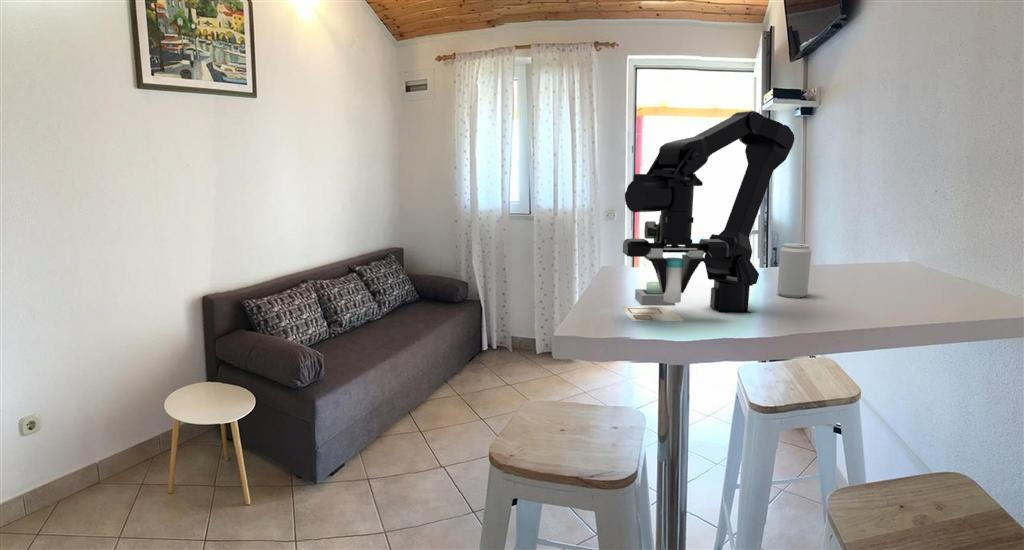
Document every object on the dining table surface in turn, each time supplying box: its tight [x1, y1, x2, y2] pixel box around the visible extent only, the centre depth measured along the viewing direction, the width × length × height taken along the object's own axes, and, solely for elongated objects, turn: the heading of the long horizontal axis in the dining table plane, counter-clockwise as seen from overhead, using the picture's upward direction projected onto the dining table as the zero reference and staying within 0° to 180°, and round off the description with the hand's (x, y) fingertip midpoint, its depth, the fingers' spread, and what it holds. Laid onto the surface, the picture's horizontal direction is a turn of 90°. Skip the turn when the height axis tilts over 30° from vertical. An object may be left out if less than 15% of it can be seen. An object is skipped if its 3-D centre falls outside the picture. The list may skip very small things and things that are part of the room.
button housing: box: [634, 288, 676, 306], centre depth 130 cm, size 7×7×2 cm
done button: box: [645, 281, 663, 294], centre depth 130 cm, size 4×4×2 cm
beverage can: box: [776, 242, 812, 299], centre depth 138 cm, size 6×6×12 cm
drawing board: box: [621, 305, 686, 322], centre depth 120 cm, size 12×14×1 cm
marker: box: [663, 257, 683, 304], centre depth 114 cm, size 3×3×8 cm
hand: (672, 292), depth 115 cm, fingers closed on marker, 3 cm apart
